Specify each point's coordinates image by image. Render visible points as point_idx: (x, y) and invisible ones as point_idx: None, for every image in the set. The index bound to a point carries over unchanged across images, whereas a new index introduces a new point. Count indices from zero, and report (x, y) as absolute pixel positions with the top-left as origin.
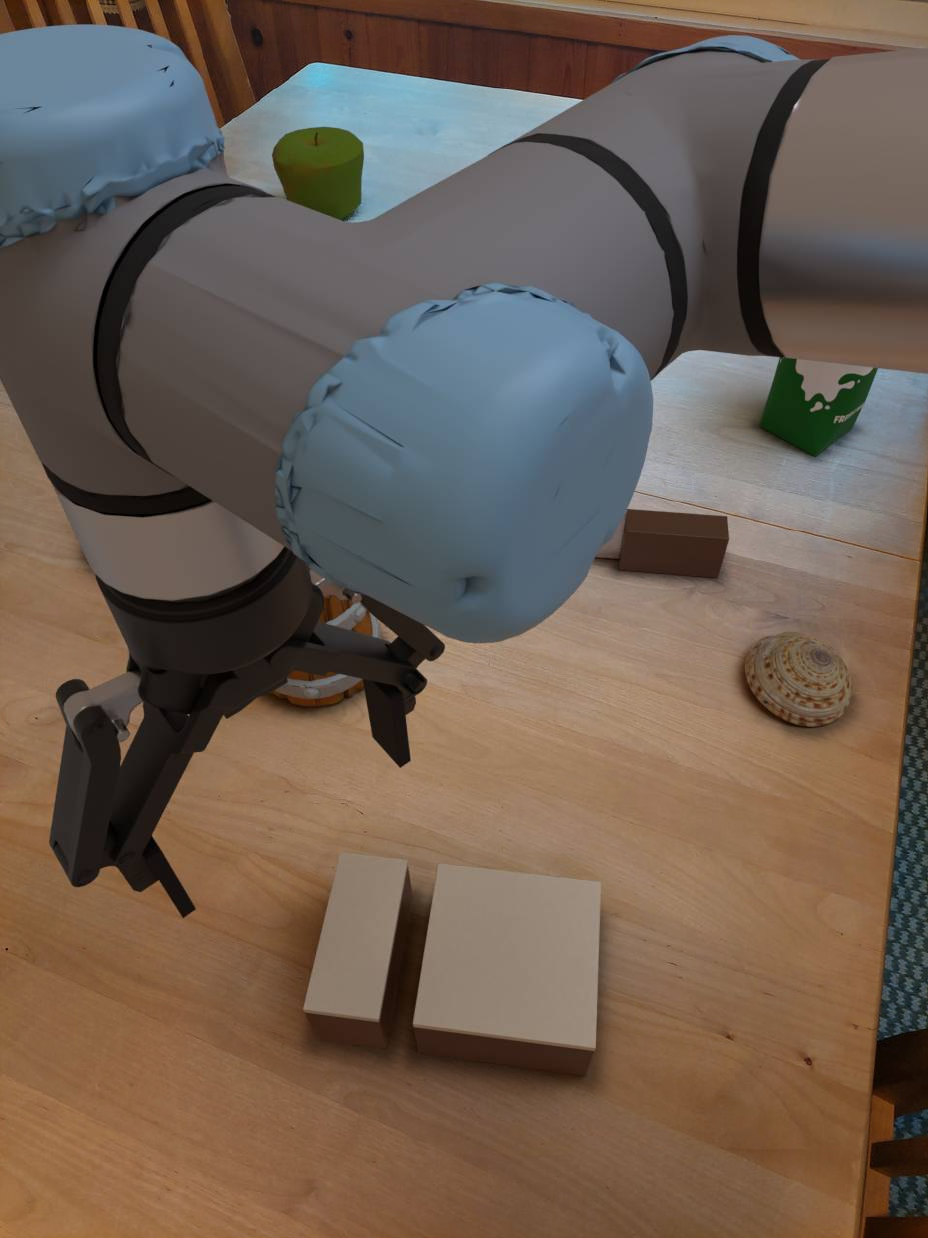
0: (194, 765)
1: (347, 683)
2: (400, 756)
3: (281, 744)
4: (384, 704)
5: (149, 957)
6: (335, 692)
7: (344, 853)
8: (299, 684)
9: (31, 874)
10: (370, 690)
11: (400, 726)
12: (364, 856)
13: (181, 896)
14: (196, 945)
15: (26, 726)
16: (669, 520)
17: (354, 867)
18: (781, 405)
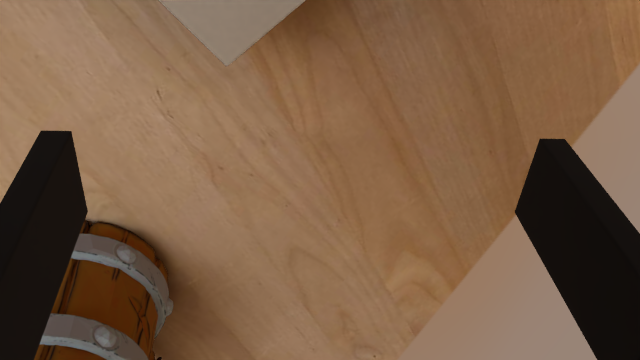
0: (286, 247)
1: (77, 241)
2: (54, 155)
3: (192, 216)
4: (7, 309)
5: (454, 103)
6: (98, 238)
7: (223, 61)
8: (134, 272)
9: (474, 239)
10: (24, 346)
11: (6, 227)
12: (201, 38)
13: (578, 178)
14: (411, 82)
15: (386, 354)
16: None
17: (223, 35)
18: None
